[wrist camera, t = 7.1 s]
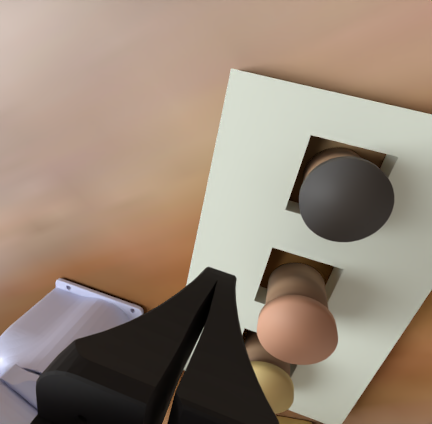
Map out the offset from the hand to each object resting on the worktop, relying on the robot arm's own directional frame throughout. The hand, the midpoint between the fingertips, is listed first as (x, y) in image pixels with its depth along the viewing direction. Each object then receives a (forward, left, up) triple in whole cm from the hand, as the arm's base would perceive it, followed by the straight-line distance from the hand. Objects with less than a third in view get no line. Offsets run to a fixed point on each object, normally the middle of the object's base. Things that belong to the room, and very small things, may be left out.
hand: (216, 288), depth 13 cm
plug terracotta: (+5, -4, -8) cm, 11 cm away
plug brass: (+5, -12, -10) cm, 17 cm away
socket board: (+5, -4, -10) cm, 12 cm away
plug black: (+5, +4, -10) cm, 12 cm away
